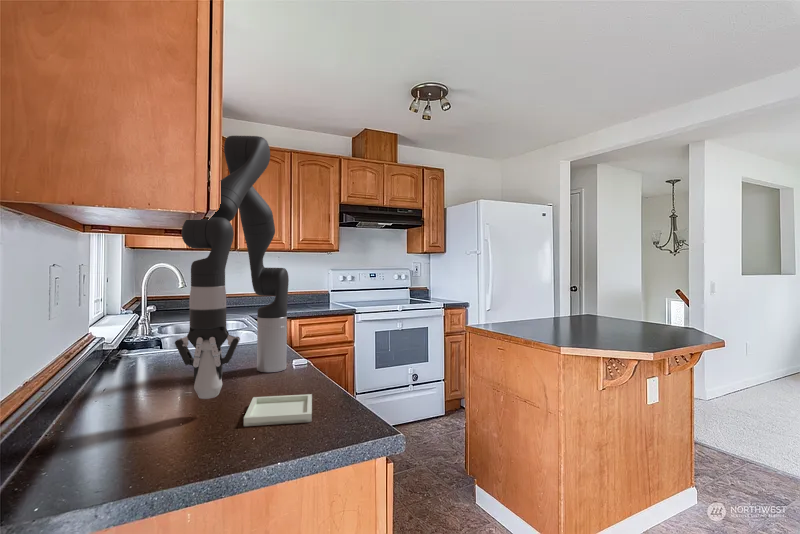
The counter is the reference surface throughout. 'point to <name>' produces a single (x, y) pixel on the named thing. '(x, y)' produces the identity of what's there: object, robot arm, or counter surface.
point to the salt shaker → (207, 374)
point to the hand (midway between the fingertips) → (208, 381)
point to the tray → (279, 410)
